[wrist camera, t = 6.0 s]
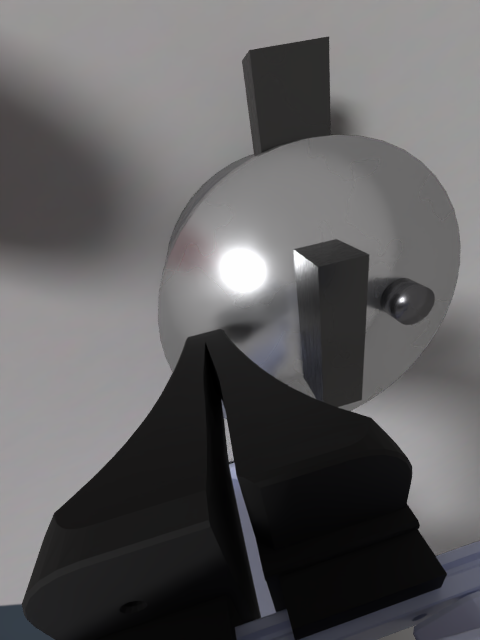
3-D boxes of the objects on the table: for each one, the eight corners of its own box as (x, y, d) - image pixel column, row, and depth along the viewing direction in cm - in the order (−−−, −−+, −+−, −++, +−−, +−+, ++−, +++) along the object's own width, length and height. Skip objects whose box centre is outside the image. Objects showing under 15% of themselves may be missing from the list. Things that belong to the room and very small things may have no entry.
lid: (422, 379, 16) (466, 417, 14) (202, 443, 15) (207, 497, 13) (473, 104, 10) (571, 85, 7) (104, 179, 9) (78, 186, 6)
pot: (372, 368, 21) (411, 409, 17) (207, 414, 20) (215, 468, 16) (394, 51, 12) (482, 8, 9) (105, 104, 11) (75, 77, 8)
